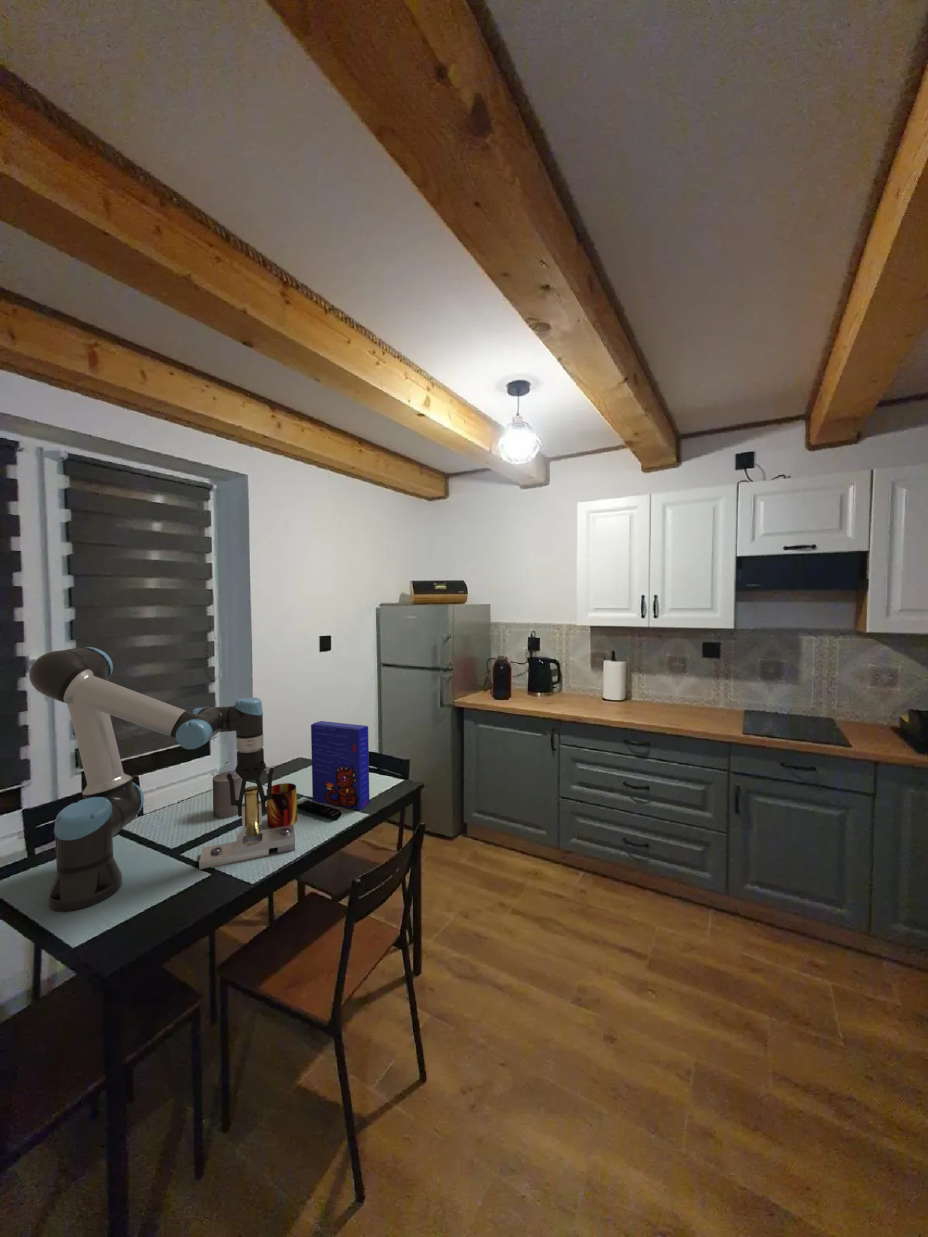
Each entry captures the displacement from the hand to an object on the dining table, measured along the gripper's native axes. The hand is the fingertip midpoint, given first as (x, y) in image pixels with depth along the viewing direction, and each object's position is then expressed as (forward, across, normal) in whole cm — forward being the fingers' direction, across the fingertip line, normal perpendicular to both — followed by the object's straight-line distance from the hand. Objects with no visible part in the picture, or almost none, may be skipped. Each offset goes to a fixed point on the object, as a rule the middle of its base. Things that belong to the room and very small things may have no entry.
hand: (252, 824), depth 144 cm
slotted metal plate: (+8, 0, 0) cm, 8 cm away
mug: (+9, +10, +15) cm, 20 cm away
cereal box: (+9, +30, +25) cm, 40 cm away
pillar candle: (+9, -9, +33) cm, 35 cm away
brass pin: (+3, 0, 0) cm, 3 cm away
